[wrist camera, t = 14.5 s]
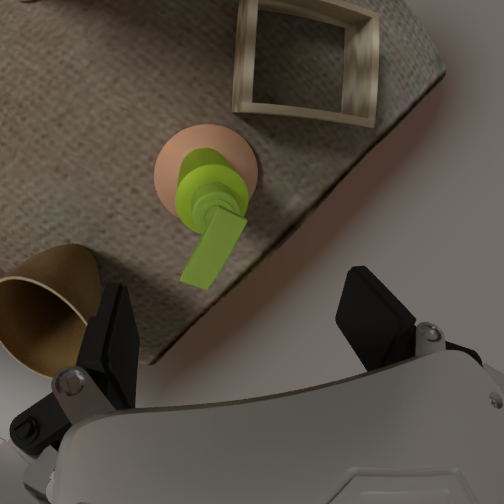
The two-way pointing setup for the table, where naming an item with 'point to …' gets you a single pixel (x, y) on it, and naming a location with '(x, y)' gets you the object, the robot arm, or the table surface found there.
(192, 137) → the peach oval pebble
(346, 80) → the open wooden box
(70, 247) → the plant pot
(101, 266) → the table surface
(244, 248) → the table surface
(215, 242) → the soap dispenser
